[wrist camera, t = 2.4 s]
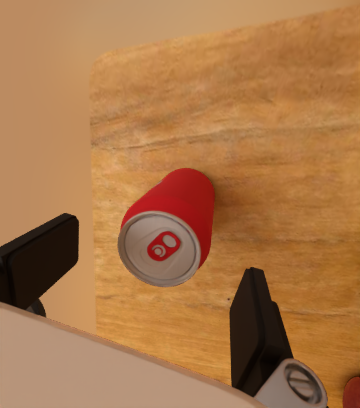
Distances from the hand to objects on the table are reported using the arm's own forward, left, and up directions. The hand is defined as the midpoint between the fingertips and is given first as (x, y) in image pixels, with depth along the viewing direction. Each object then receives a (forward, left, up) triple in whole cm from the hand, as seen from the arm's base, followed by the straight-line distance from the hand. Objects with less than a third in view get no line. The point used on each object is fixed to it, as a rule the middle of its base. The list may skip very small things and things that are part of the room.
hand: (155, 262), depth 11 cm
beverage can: (0, 0, -14) cm, 14 cm away
